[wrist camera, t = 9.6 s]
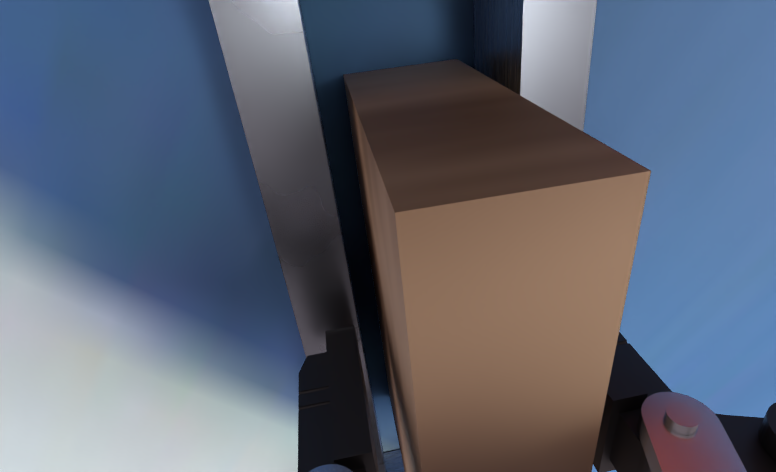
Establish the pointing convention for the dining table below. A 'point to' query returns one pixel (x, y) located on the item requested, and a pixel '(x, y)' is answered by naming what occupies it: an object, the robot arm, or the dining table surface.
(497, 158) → the door panel
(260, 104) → the grey desk caddy
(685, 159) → the dining table surface
